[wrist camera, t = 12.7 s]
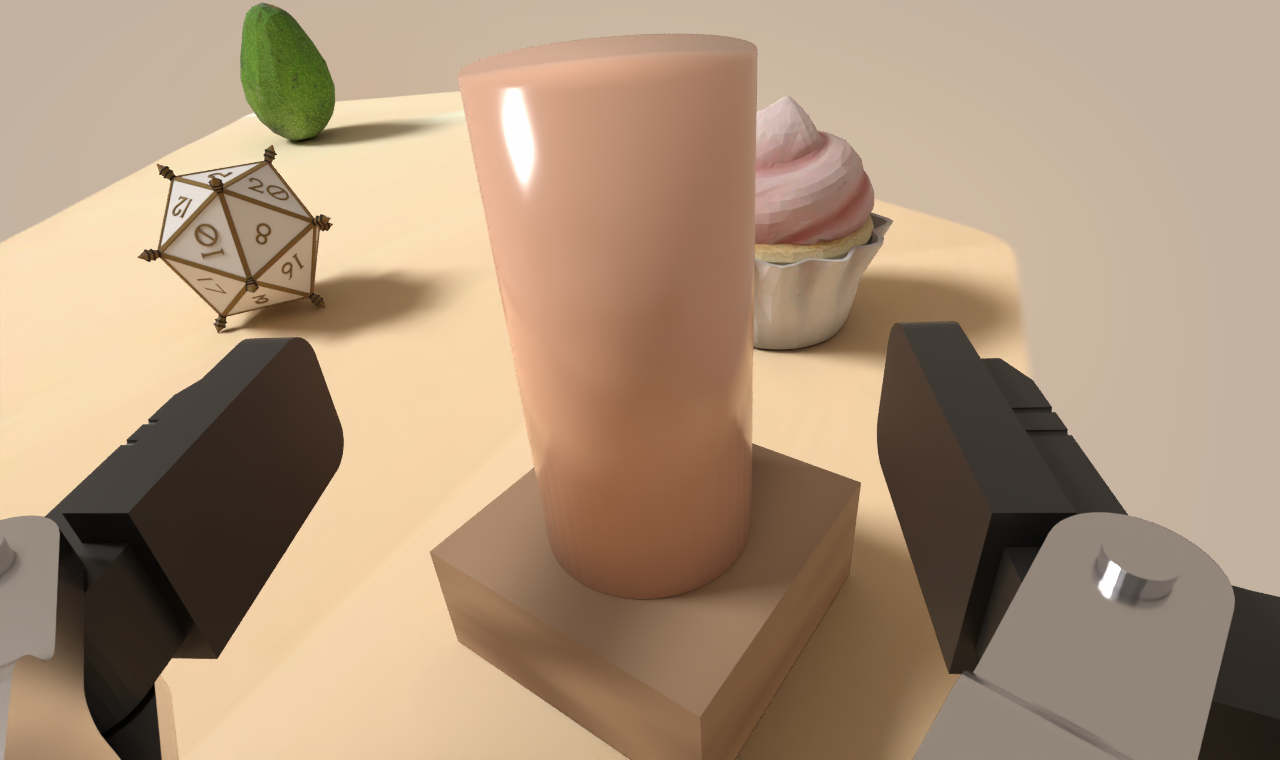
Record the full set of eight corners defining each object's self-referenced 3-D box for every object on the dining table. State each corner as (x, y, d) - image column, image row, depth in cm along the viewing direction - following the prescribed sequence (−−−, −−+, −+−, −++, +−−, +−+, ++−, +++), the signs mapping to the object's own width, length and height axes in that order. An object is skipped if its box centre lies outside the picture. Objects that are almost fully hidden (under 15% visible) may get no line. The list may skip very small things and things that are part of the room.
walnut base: (458, 641, 20) (429, 551, 18) (630, 478, 25) (622, 396, 23) (704, 810, 16) (699, 717, 14) (849, 573, 21) (860, 482, 19)
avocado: (295, 153, 67) (248, 8, 60) (246, 145, 71) (197, 8, 64) (364, 131, 72) (328, -4, 66) (315, 125, 76) (276, -3, 70)
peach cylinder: (505, 541, 18) (394, 79, 12) (629, 434, 22) (588, 31, 16) (676, 636, 16) (638, 100, 10) (787, 496, 19) (809, 36, 13)
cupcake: (911, 301, 35) (944, 81, 29) (823, 394, 29) (844, 139, 23) (743, 262, 40) (745, 68, 35) (639, 334, 34) (621, 113, 29)
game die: (314, 349, 43) (362, 185, 43) (306, 366, 35) (365, 166, 35) (139, 303, 39) (190, 125, 39) (86, 311, 31) (150, 88, 31)
